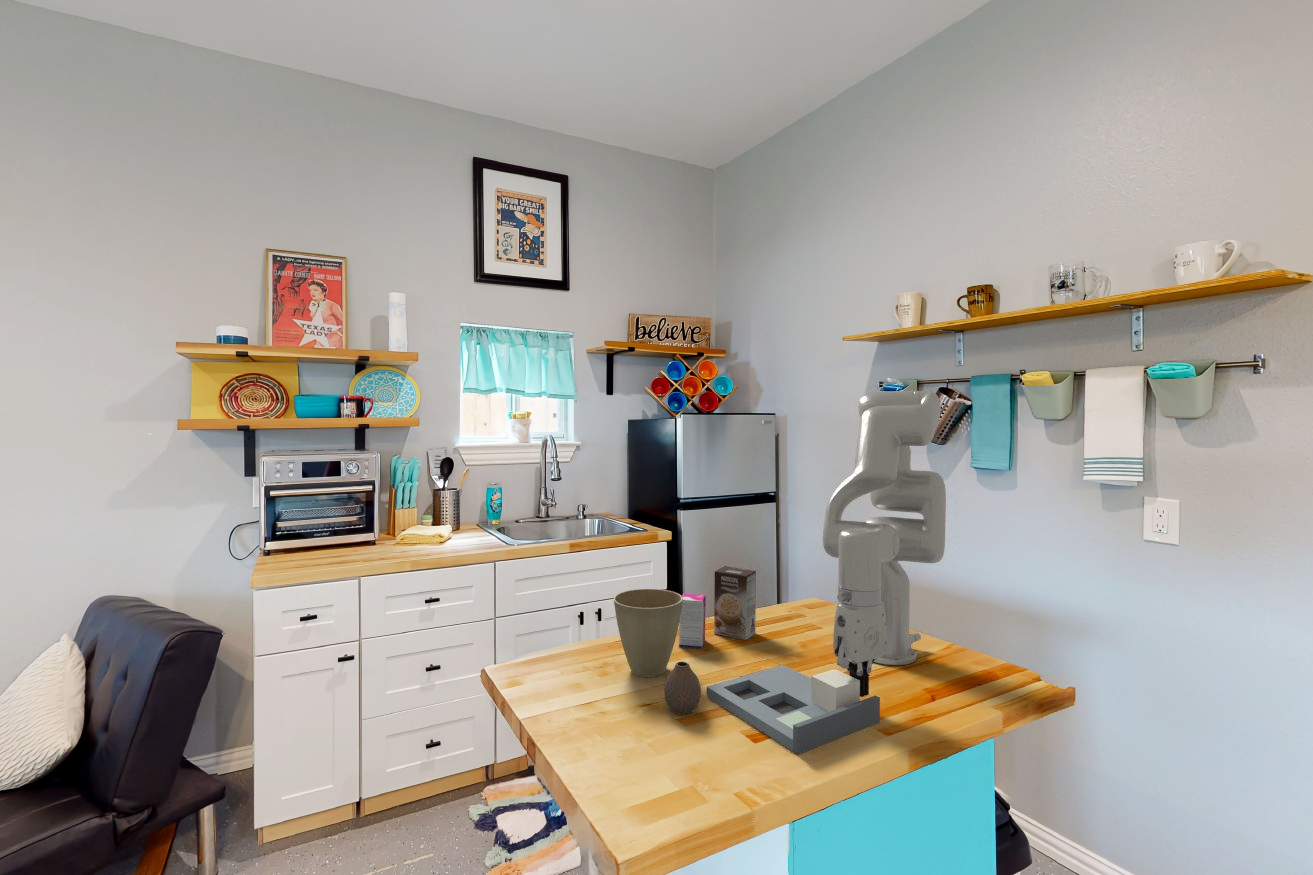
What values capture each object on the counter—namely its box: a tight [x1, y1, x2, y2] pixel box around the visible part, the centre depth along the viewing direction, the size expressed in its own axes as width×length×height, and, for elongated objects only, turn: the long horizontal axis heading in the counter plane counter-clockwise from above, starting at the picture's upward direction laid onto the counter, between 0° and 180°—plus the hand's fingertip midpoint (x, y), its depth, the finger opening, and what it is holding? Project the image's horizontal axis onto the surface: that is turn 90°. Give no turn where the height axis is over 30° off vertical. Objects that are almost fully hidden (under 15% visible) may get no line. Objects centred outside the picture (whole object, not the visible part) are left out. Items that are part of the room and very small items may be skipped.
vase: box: [663, 661, 702, 716], centre depth 118 cm, size 7×7×9 cm
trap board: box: [706, 664, 881, 755], centre depth 118 cm, size 20×25×4 cm
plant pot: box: [613, 588, 683, 678], centre depth 137 cm, size 15×15×16 cm
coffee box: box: [713, 565, 757, 641], centre depth 159 cm, size 9×6×16 cm
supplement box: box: [678, 593, 707, 649], centre depth 152 cm, size 6×6×12 cm
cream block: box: [810, 668, 861, 712], centre depth 115 cm, size 6×6×5 cm
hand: (859, 693), depth 118 cm, fingers closed
